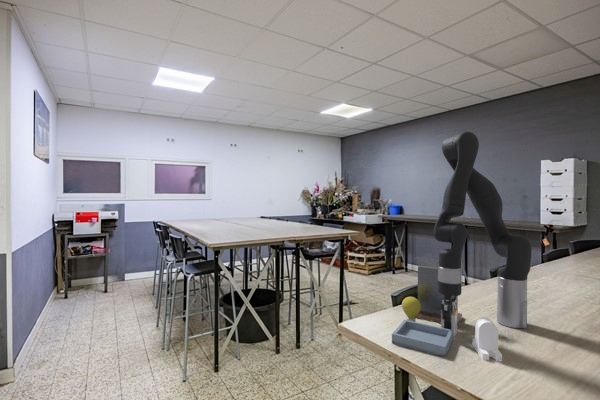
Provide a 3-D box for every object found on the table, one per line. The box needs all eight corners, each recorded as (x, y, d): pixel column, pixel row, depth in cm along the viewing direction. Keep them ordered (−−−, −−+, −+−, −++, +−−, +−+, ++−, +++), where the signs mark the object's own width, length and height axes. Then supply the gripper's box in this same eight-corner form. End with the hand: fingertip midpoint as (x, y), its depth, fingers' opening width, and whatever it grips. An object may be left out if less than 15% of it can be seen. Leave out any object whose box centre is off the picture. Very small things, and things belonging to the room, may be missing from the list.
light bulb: (398, 320, 123) (398, 294, 123) (415, 319, 123) (415, 294, 123) (405, 327, 116) (406, 300, 116) (423, 327, 117) (424, 299, 116)
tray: (452, 339, 107) (452, 330, 107) (445, 357, 96) (445, 347, 96) (404, 327, 116) (404, 319, 116) (391, 343, 105) (391, 333, 105)
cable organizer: (489, 345, 103) (490, 314, 102) (502, 362, 93) (503, 327, 93) (471, 344, 104) (472, 313, 103) (482, 360, 94) (483, 326, 94)
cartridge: (457, 331, 113) (457, 309, 113) (455, 336, 109) (455, 313, 109) (443, 328, 115) (443, 306, 115) (441, 333, 112) (441, 310, 112)
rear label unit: (462, 317, 125) (462, 267, 125) (458, 326, 117) (458, 273, 117) (419, 309, 134) (420, 262, 134) (413, 317, 126) (413, 267, 126)
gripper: (458, 286, 104) (457, 338, 104) (464, 276, 116) (463, 324, 116) (433, 282, 108) (433, 333, 109) (441, 273, 120) (441, 319, 120)
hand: (448, 328), depth 112 cm, fingers closed on cartridge, 4 cm apart
